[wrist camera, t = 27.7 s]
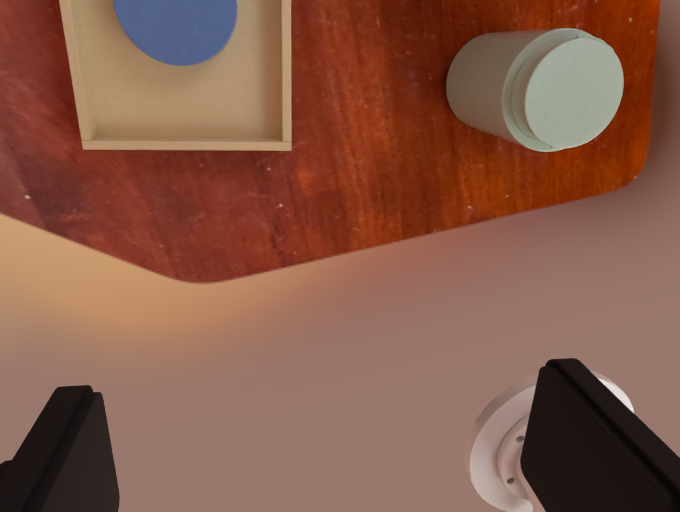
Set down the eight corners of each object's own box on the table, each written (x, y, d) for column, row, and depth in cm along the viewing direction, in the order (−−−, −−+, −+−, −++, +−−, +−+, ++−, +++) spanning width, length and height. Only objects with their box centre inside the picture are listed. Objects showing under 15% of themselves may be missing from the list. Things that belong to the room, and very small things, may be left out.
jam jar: (524, 129, 38) (616, 157, 28) (440, 128, 37) (506, 157, 27) (540, 34, 35) (647, 29, 26) (451, 30, 34) (527, 23, 25)
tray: (289, 145, 36) (291, 150, 34) (92, 143, 34) (82, 149, 32) (288, -154, 29) (290, -167, 27) (43, -178, 27) (27, -195, 25)
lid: (150, -91, 29) (143, -100, 27) (258, -16, 31) (258, -20, 29) (100, 23, 31) (91, 22, 29) (206, 86, 33) (203, 88, 31)
